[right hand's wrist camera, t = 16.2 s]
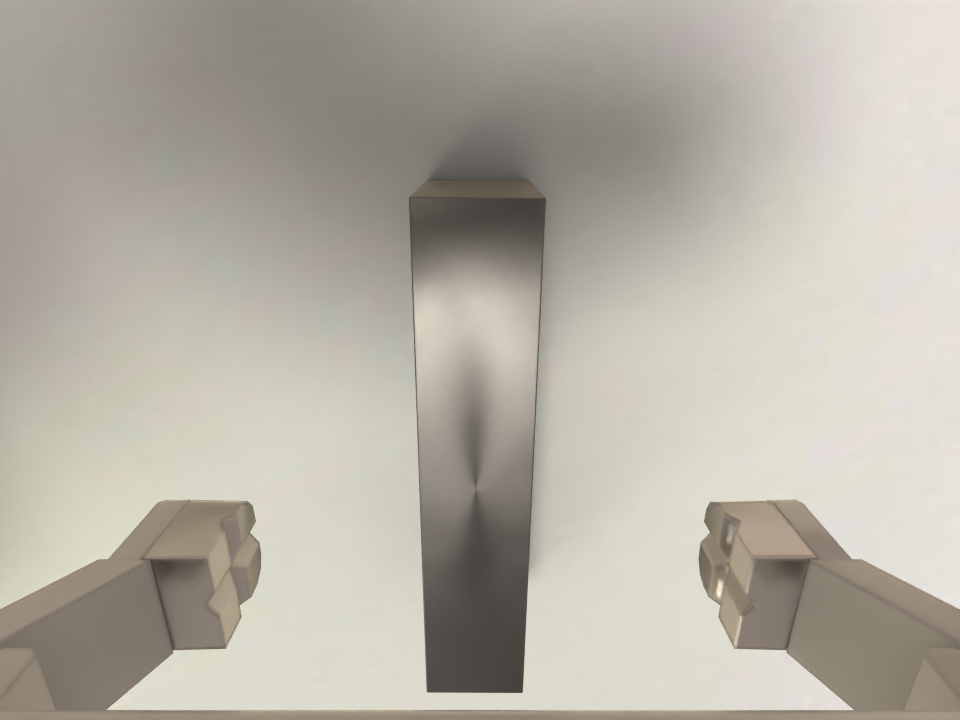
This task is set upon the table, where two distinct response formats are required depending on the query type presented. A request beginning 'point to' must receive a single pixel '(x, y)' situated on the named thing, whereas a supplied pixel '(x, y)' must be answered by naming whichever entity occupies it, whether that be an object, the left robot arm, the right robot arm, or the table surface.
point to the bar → (476, 422)
